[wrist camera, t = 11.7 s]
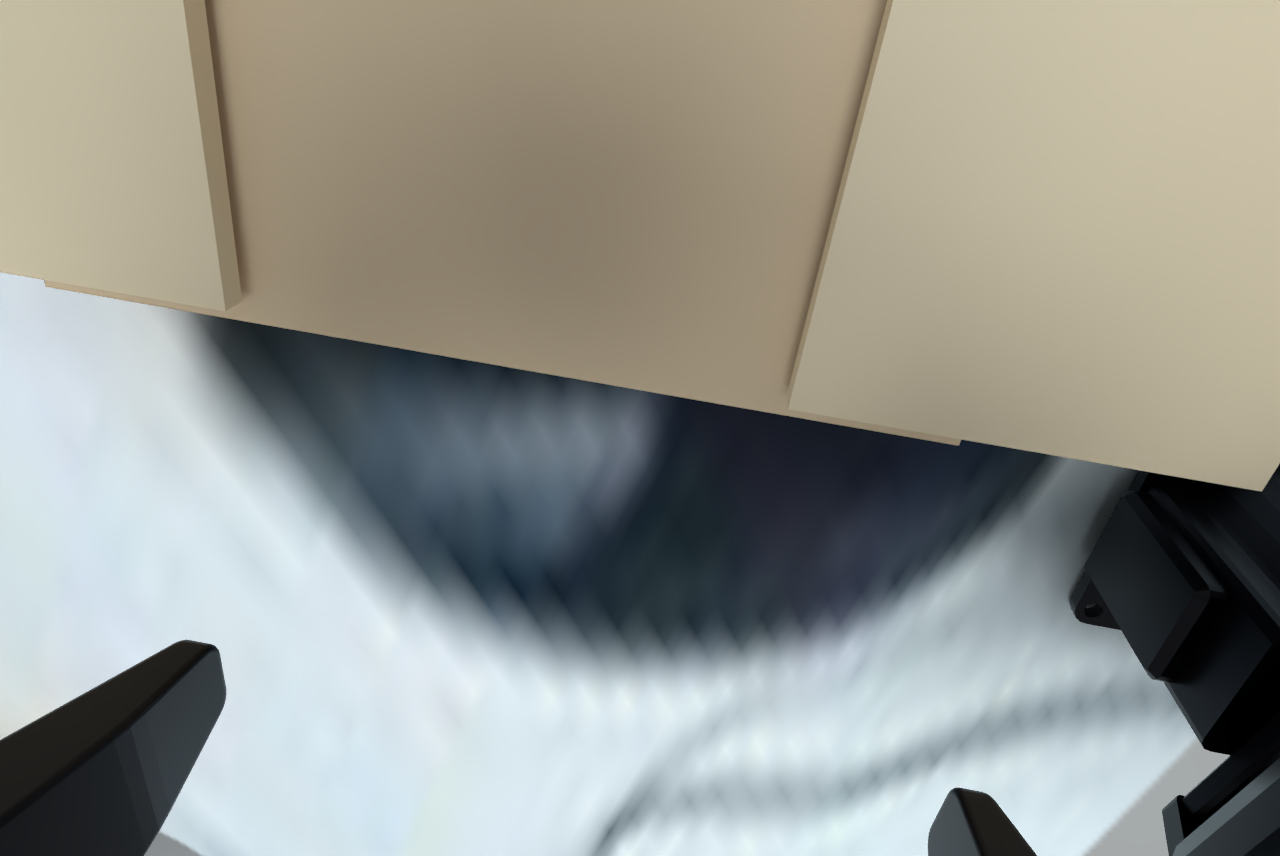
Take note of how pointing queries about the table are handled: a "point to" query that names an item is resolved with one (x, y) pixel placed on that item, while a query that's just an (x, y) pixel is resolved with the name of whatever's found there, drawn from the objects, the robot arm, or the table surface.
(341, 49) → the carton
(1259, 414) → the flap near
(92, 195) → the flap far
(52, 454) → the table surface
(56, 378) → the table surface
